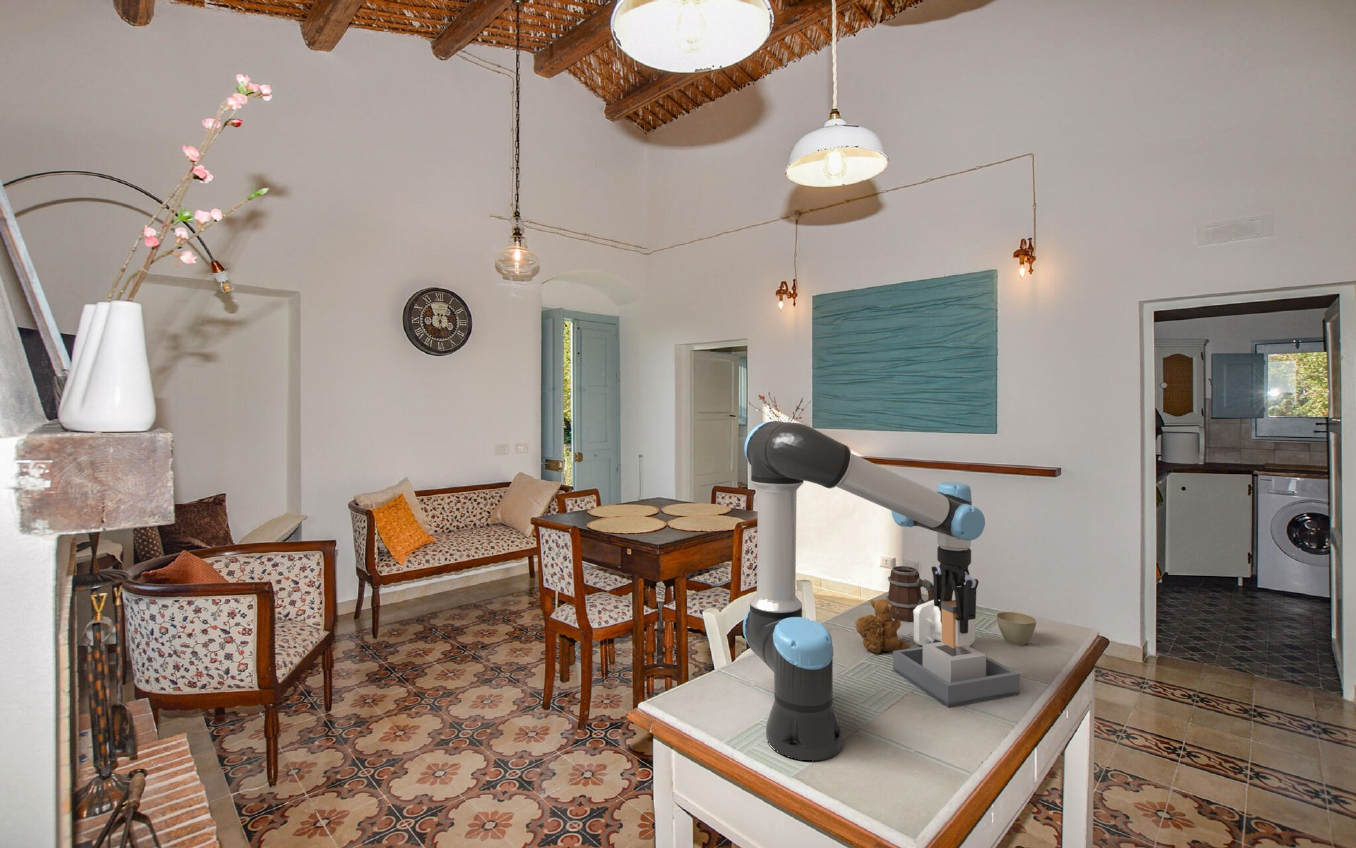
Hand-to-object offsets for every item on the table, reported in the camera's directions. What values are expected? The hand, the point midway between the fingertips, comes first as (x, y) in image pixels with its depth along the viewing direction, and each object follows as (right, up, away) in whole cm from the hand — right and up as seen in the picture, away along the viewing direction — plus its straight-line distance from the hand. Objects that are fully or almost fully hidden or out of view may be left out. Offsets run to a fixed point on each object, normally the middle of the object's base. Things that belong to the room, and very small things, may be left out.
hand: (954, 641), depth 149 cm
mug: (+7, -8, +45) cm, 46 cm away
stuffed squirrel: (-11, -10, +21) cm, 26 cm away
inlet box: (0, -10, 0) cm, 10 cm away
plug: (0, -1, 0) cm, 1 cm away
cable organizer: (+7, -9, +22) cm, 25 cm away
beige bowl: (+29, -9, +24) cm, 39 cm away
